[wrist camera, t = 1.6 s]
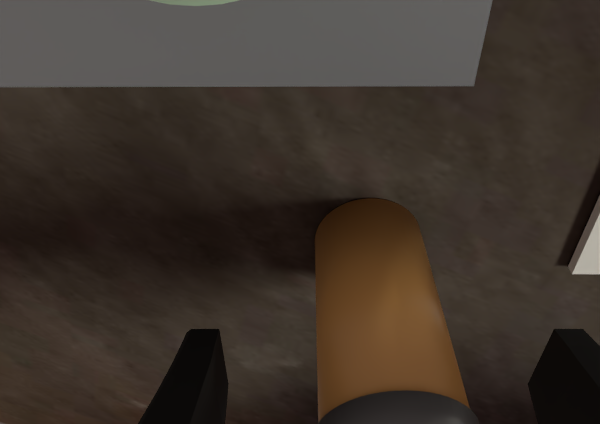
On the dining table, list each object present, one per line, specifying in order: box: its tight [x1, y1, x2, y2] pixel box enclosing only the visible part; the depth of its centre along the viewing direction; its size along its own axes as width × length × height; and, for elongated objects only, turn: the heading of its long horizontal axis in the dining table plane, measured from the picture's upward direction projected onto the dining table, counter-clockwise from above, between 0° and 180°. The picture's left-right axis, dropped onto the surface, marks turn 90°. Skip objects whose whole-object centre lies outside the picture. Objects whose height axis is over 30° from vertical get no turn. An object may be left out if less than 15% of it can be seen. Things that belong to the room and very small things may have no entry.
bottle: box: [315, 198, 480, 424], centre depth 12 cm, size 3×3×7 cm
